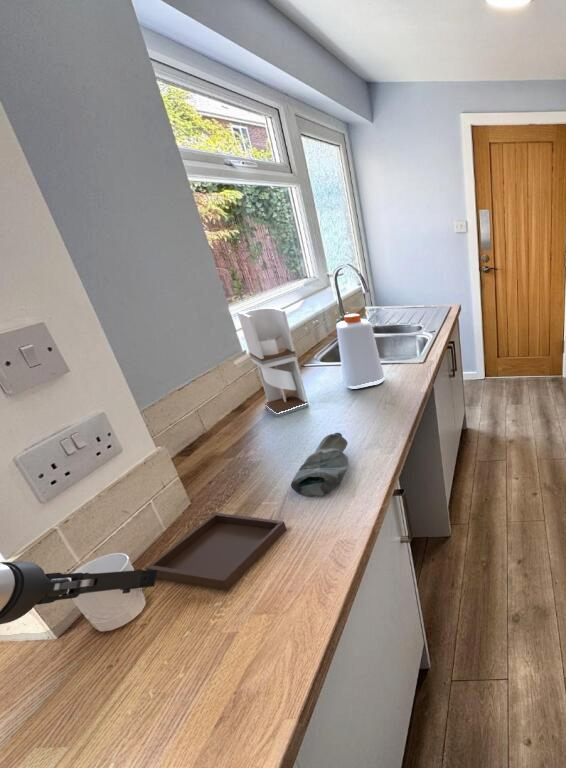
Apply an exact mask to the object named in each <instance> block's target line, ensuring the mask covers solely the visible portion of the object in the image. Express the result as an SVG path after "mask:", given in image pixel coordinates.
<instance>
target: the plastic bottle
mask: <svg viewBox="0 0 566 768" xmlns="http://www.w3.org/2000/svg"><path fill="white" fill-rule="evenodd" d="M335 326H336V336H337V344H338V350H339V359H340V367H341V375H342V381H343V380H344V381H343V383H344V382H345V383H344V385H345V386H346V385H347V386H357V385H361V384H365V383H369V382H374V381H377V380H380V379H382V378H383V377H384V378H385V374H384V370H383V365H382V362H381V357H380V354H379V353H380V352H379V350H378V349H379V348H378V345H377V342H376V337H375V333H374V329H373V324H372V323H371V322H370V321H369V320H368V319H365V318H361V315H360V314H359V313H349V314H346V315H344V316H343V320H342V321H339V322H337V323H336V325H335Z"/></svg>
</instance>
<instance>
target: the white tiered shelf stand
mask: <svg viewBox="0 0 566 768" xmlns="http://www.w3.org/2000/svg"><path fill="white" fill-rule="evenodd" d="M237 315H238V319H239V322H240V326H241V329H242V332H243V336H244V339H245V343H246V347H247V350H248V353H249V357H250V359H251V362H252V363H253V364H255V365H256V366H257V370H258V374H259V377H260V380H261V383H262V387H263V390H264V394H265V398H266V400H267V401H265V402H264V406H265V405H267V406H268V407H269V408H270V409H272V410H273V411H274V412H276V413H279V412H281V411H285V410H288V409H291V408H293V407H296V406H299V405H302V404H305V403H308V404H306V405H303V406H300V407H297V408H295V409H292V410H289V411H286V412H283V413H280V414H276V413H274V412H273V411H272V410H270V409H269V408H268V407H267V406H265V409H267V410H268V411H269V412H271V413H272V414H273V415H274V416H276V417H277V418H279V417H282V416H285V415H288V414H291V413H294V412H297V411H299V410H303V409H305V408H308V407H309V401H308V398H307V394H306V393H307V392H306V389H305V386H304V382H303V378H302V374H301V370H300V366H299V365H300V364H299V361H298V358H297V354H296V349H295V345H294V341H293V337H292V333H291V330H290V326H289V320H288V318H287V313H286V310H284V309H282V308H278V307H275V306H267V307H261V308H255V309H249V310H241V311H237Z"/></svg>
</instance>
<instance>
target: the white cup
mask: <svg viewBox="0 0 566 768" xmlns="http://www.w3.org/2000/svg"><path fill="white" fill-rule="evenodd" d="M122 571H135V568H134V567H133V564H132V562H131V559H130V557H129V556H128V555H127V553H123V552H114V553H109V554H105V555H101V556H100V557H97V558H95V559H91V560H90V561H88V562H86V563H85V564H83V565H81V566H79V567H78V568H77V569H75V570H74V571H73V572H72V573H83V574H84V573H90V574H92V573H109V572H122ZM67 579H69V580H70V582H71V578H67ZM68 592H69V589H68ZM68 592H67V594H68ZM122 593H123V590H120V589H116V590H107V591H99V592H91V593H84V594H80V595H79V596H78V597H76V598H71V601H72V602H73V604H74V605H75V606H76V607H77V609H78V610H79V611H80V612H81V613H82V615H83V617H85V618H86V620H87V621H89V623H90V624H91V625H92V627H93V628H94V629H95V630H97V631H99V632H111V631H113V630H116V629H118V628H121V627H123V626H125V625H127V624H128V623H130V622H131V621H133V620H134V619H136V618H137V616H138V615H140V614H141V613H142V612H143V610H144V608H145V607H146V605H147V601H146V596H145V595H144V594H145V593H143V588H134V589H130V593H124V594H122Z"/></svg>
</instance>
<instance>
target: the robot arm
mask: <svg viewBox="0 0 566 768" xmlns="http://www.w3.org/2000/svg"><path fill="white" fill-rule="evenodd" d="M156 573H157V570H146V569H145V570H144V569H136V570H135V569H134V571H122V572H109V573H92V574H90V573H84V574H83V573H73V572H71V573H70V572H69V573H62V572H48V573H45V571H44V569H43V567H41V566H40V565H39V564H37V563H35V562H31V561H1V562H0V625H5V624H9V623H12V622H14V621H17V620H18V619H20V618H22V617H24V616H25V615H26V614H28V613H29V612H30V611H31V610H32V609H33V608H34V607H36V606H37V605H38V606H39V605H45V604H52V603H54V602H57V601H62V600H70V599H71V598H76V597H78V596H79V595H80V594H84V593H91V592H99V591H107V590H116V589H120V590H123V593H122V594H124V593H130V589H134V588H142V589H143V588H152V587H155V584H156ZM67 578H71V582H70V580H69V579H67ZM68 589H69V592H68ZM67 592H68V594H67ZM71 600H72V599H71Z"/></svg>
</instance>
